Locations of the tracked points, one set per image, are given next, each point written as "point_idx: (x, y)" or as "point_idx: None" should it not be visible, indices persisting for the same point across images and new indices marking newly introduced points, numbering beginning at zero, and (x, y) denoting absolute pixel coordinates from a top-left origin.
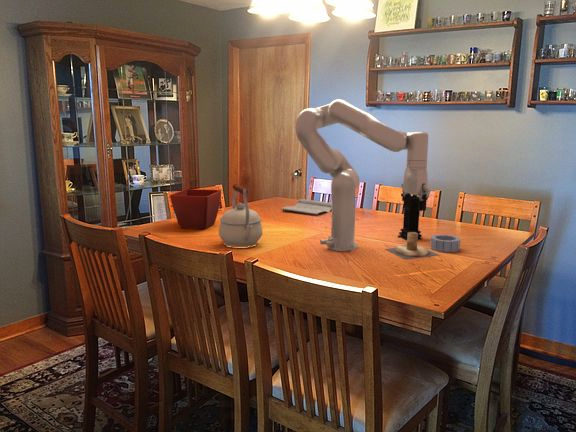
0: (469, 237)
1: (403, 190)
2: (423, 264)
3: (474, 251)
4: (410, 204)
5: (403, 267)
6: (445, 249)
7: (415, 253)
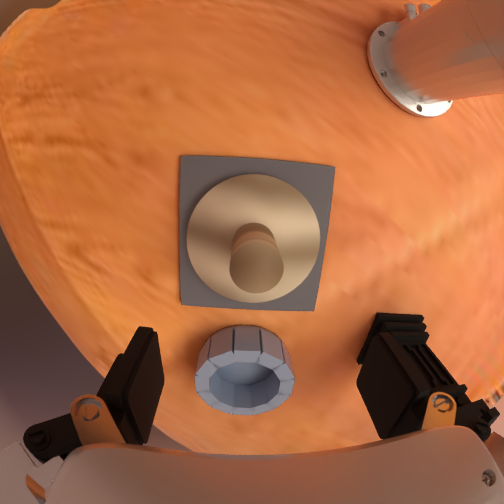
0: (306, 446)
1: (459, 432)
2: (126, 193)
3: (200, 403)
4: (361, 386)
5: (125, 109)
6: (206, 345)
7: (195, 217)
